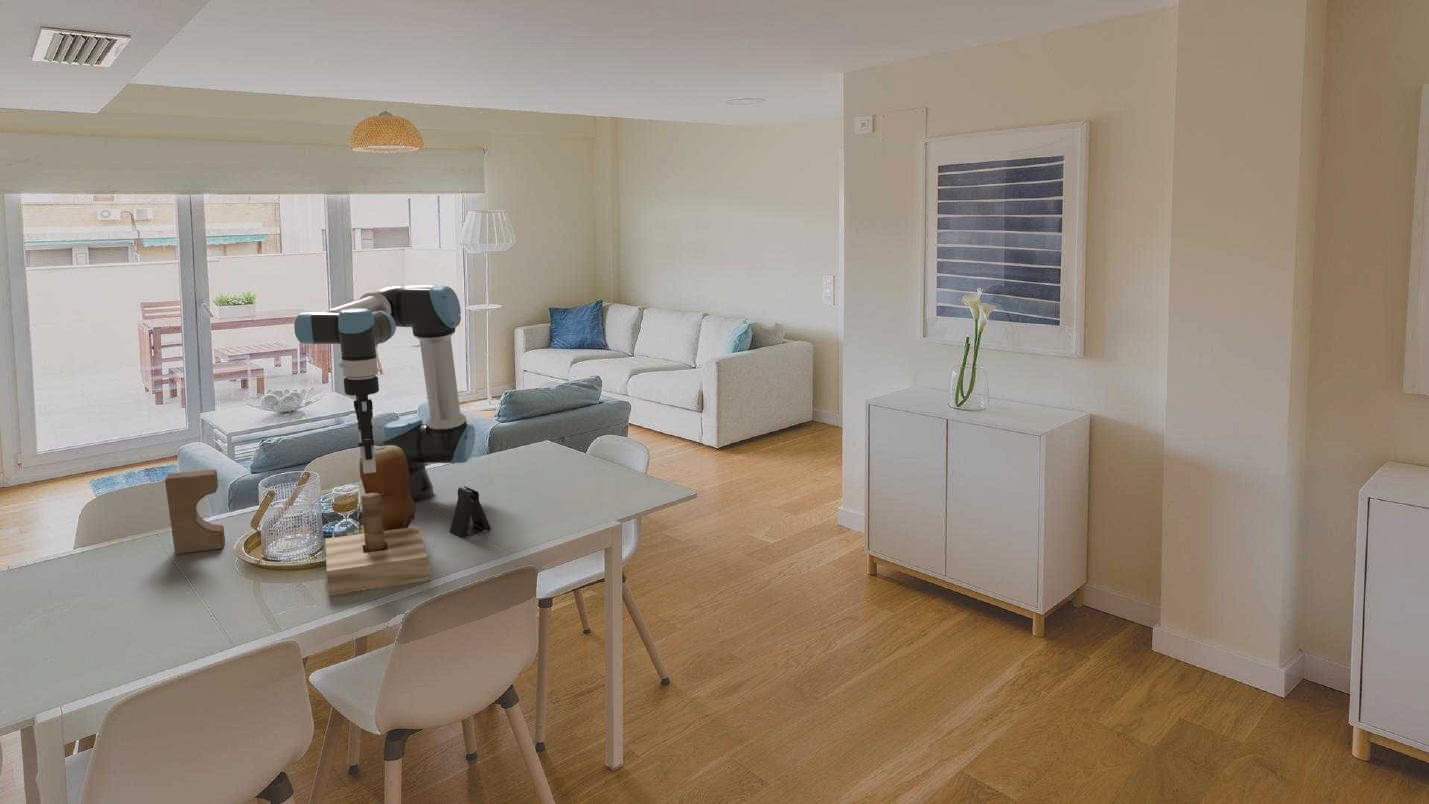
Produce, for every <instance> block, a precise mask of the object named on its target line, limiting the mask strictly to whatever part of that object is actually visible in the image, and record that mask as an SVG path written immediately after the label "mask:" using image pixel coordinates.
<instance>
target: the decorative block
mask: <svg viewBox="0 0 1429 804" xmlns="http://www.w3.org/2000/svg"><path fill="white" fill-rule="evenodd" d="M164 482H165V489H166V491H165V492H166V499H167V504H168V505H167V506H168V511H169V520H170V527H171V534H172V541H173V542H172V543H173V550H174V554H175V555H184V554H183V553H185V554H192V552H193V553H200V552H199V551H201V552H207V551H214V550H216V549H217V550H223V548H224V546H225V544H226V537H225V530H224V529H225V528H224V526H223V524H214V523H210V522H208V521H206V520H205V519H203V517H201V516H200V515H199V512H198V509H197V506H198V505H197V504H199V502H200V501H201V500H203V499H204V498H205V497H206V496H208V495H212V494H215V493H216V492H217V491H218V488H219V480H218V471H217V469H215V468H214V469H206V470H205V469H204V470H203V469H202V470H196V471H194V470H193V471H192V470H191V471H183V472H173V473H168V474H167V476H166V477H165V480H164ZM217 550H216V551H217Z"/></svg>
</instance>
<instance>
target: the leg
mask: <svg viewBox="0 0 1429 804" xmlns="http://www.w3.org/2000/svg"><path fill="white" fill-rule="evenodd" d="M360 498H361V499H360V500H361V511H362V522H363V524H362V525H363V534H364V535H365V549H366V553H368V552H375V551H383V550H385V540H384V528H383V516H382V504H381V494H379V493H369V494H365V493H364V494H363V495H361V497H360Z"/></svg>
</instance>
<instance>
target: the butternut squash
mask: <svg viewBox="0 0 1429 804" xmlns="http://www.w3.org/2000/svg"><path fill="white" fill-rule="evenodd" d="M374 452H375V464H376V472H374V473H364V472H363V461H362V458H361V456H360V458H359V467H358V469H359V474H360V475H359V476H360V480H361V483H362V486H363V489H364V495H365V494H369V493H379V494H381V504H382V516H383V528H384V531H387V530H395V529H402V528H409V527H410V526H411V523H412V521H413V520H415V518H416V512H417V511H416V510H417V509H416V505H415V502H414V501H413V499H412V498H411V495H410V488H409V483H410V476H409V470H408V463H407V460H406V456H405V454H404V452H403V450H402V449H401V448H400V447H398V446H394V445H387V446H383V445H382V446H378V447H374Z"/></svg>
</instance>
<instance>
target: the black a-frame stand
mask: <svg viewBox="0 0 1429 804" xmlns="http://www.w3.org/2000/svg"><path fill="white" fill-rule="evenodd" d="M456 494H457V501H456V504H455V509H454V514H453V517H452V521H451V525H450V530H449V532H450V533H452V534H454V535H456V536H458V537H460V538H462V539H463V537H464V538H467V537H470V536H474V535H476V534H481V533H483V532H482V531H484V532H486V531H485V530H488V531H491V528H492V527H491V525H490V523H489V520H488V518H487V516H486V514H485V511H484V509H483V506H482V504H481V502H480V493H479V491H477V490H474V489H472V488H470V487H468V486H466V485H463V486H460V487H458V489H457V493H456ZM470 521H472V524H471V525H470ZM480 532H481V533H480ZM473 534H474V535H473ZM466 536H467V537H466Z"/></svg>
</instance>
